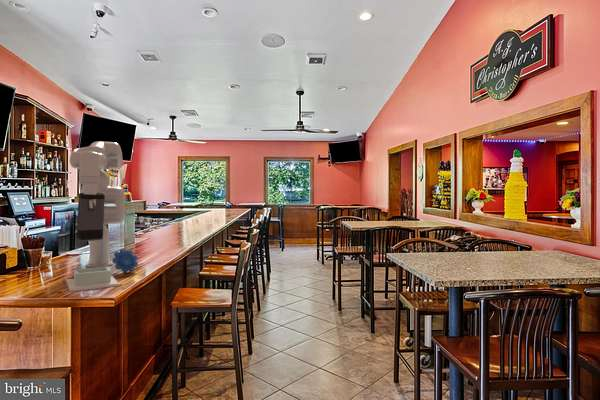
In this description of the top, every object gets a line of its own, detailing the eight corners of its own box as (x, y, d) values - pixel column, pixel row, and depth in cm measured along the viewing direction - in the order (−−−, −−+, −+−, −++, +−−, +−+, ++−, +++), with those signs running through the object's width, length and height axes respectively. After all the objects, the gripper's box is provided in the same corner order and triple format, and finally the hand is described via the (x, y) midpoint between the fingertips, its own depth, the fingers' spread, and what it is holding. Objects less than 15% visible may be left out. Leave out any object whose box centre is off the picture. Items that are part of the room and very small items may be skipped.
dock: (66, 281, 165) (66, 268, 165) (111, 276, 176) (111, 264, 175) (69, 291, 150) (69, 276, 150) (118, 285, 161) (118, 271, 161)
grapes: (112, 275, 178) (112, 250, 178) (112, 272, 184) (112, 248, 184) (138, 273, 183) (138, 249, 183) (137, 270, 189) (138, 247, 189)
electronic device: (99, 237, 167) (101, 192, 165) (104, 240, 163) (106, 194, 161) (75, 238, 160) (77, 192, 158) (80, 241, 156) (82, 194, 154)
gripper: (78, 180, 166) (77, 221, 166) (81, 180, 152) (81, 225, 153) (97, 180, 170) (96, 220, 171) (102, 181, 156) (101, 224, 157)
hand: (89, 222), depth 162 cm, fingers closed on electronic device, 4 cm apart
